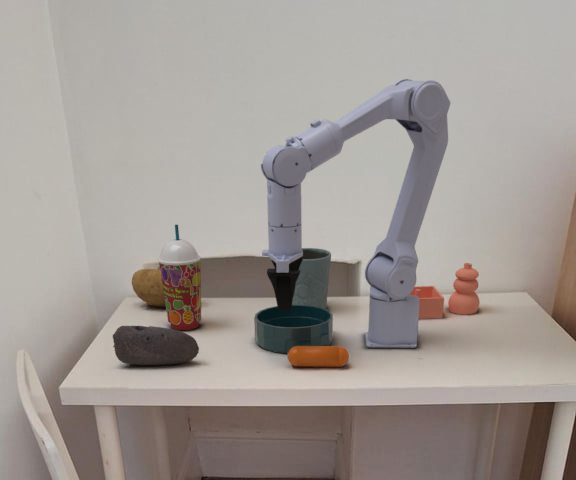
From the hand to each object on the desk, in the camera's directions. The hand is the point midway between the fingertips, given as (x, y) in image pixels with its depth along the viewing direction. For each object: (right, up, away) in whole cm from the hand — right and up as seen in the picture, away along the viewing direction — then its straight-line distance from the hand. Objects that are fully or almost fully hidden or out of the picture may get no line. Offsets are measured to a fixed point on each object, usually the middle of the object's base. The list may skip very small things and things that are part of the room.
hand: (286, 303), depth 134 cm
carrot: (+6, -11, 0) cm, 13 cm away
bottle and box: (+32, +6, +27) cm, 43 cm away
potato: (-27, +9, +34) cm, 44 cm away
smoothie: (-21, +1, +21) cm, 30 cm away
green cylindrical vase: (+5, +7, +30) cm, 31 cm away
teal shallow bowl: (+1, -4, +12) cm, 13 cm away
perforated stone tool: (-23, -11, +2) cm, 26 cm away
